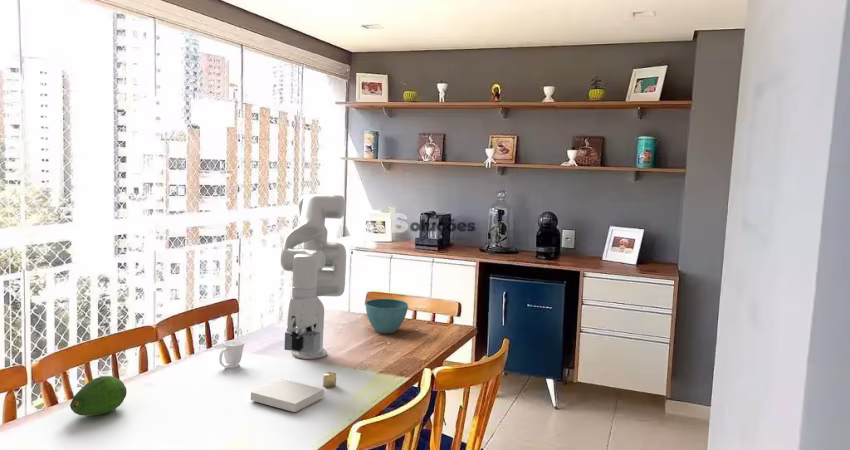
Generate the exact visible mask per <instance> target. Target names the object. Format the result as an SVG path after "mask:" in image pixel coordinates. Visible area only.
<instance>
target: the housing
mask: <svg viewBox="0 0 850 450" xmlns="http://www.w3.org/2000/svg"><path fill="white" fill-rule="evenodd" d="M295 332H296V333H297V332H298V330H296V331H295ZM300 338H301V350H300V351H297V352H304V353H311V354H314V353H315V352H317V351H318V350H319V349H320V332H313V331H305V330H302V331H301V335H300ZM284 350H285V351H291V352H292V351H296V350H292V338H291V335H290V334H289V333H288V332H287V331H285V333H284Z"/></svg>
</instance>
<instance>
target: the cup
mask: <svg viewBox="0 0 850 450" xmlns="http://www.w3.org/2000/svg"><path fill="white" fill-rule="evenodd" d="M244 346H245V342H244V341H243V340H240V339H239V340H238V339H237V340H236V339H232V340H231V339H230V340H225V341H224V342H223V343H222V347H223V348H222V349H221V351H220V353H219V359H218V360H219V364H220V365H221V366H222V367H224V368H227V369H229V368H231V369H235V368H238V367H240V362H241V360H242V357H243V351H244ZM223 354H224V361H225V363H226V365H225V364H224V363H223V360H222V359H223Z"/></svg>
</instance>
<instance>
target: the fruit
mask: <svg viewBox="0 0 850 450" xmlns="http://www.w3.org/2000/svg"><path fill="white" fill-rule="evenodd" d="M126 397H127V387H126V385H125V383H124V382H123V381H122V380H121V379H119V378H118V377H116V376H113V375H101V376H99V377H96V378H93V379H92V380H90V381H88V382H87V383H86V384H85V385H83V386H82V388H80V389H79V390H78V391H77V392H76V394H75V395H74V396H73V397H72V400H71V402H70V404H69V407H70V409H71V411H73V413H74V414H76V415H78V416H101V415H106V414H109V413H111V412H113V411H114V410H115V409H117V408H119V407H120V406H121V405H122V404H123V402H124V401H125V398H126Z"/></svg>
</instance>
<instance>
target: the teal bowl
mask: <svg viewBox="0 0 850 450" xmlns="http://www.w3.org/2000/svg"><path fill="white" fill-rule="evenodd" d="M408 309H409V303H407V302H406V301H404V300H399V299H394V298H375V299H370V300H369V299H368V300H367V301H366V302H365V310H366V316H367V319H368V320H369V321H368V322H370V324H371V327H372V328H373V329H374V331H376V332H377V333H379V334H385V333H388V334H393V333H396V332H397V330H398V329H400V327H401V326H402V324H403V322H404V321H405V318H406V315H407V313H408Z"/></svg>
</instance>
